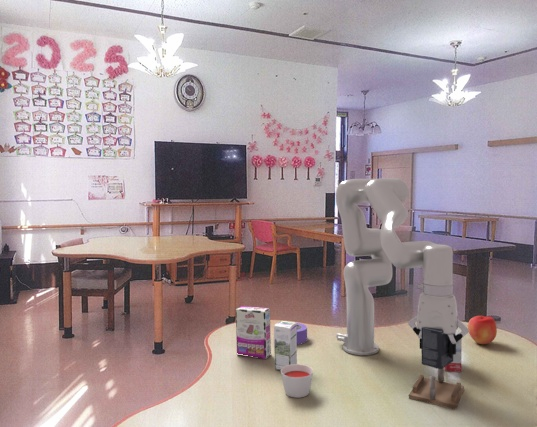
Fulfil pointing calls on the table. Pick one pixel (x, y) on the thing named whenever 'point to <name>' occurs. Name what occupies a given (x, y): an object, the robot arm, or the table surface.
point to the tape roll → (301, 333)
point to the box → (435, 348)
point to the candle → (297, 380)
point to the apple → (482, 329)
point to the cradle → (437, 391)
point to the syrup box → (285, 344)
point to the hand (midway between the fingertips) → (437, 353)
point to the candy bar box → (253, 331)
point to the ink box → (456, 357)
